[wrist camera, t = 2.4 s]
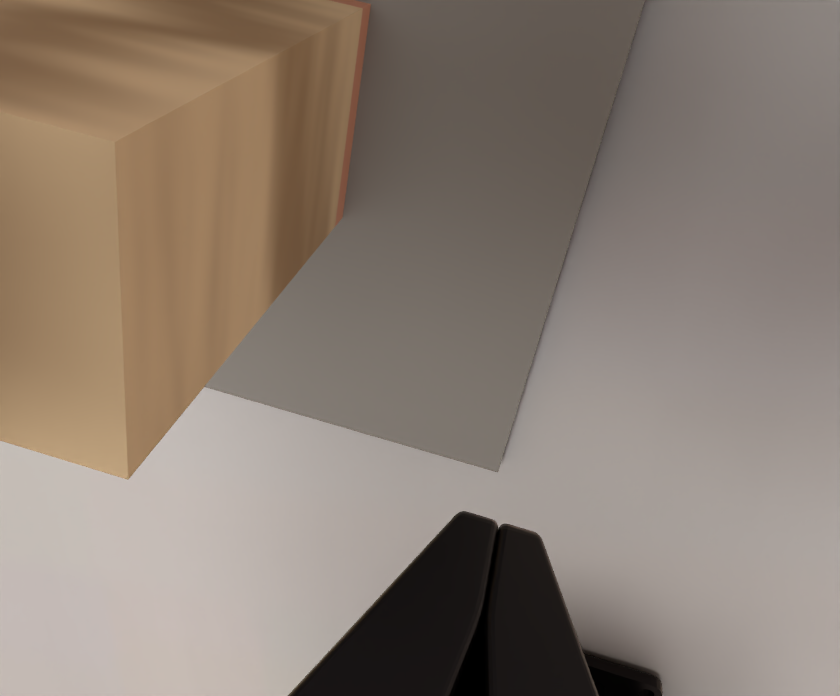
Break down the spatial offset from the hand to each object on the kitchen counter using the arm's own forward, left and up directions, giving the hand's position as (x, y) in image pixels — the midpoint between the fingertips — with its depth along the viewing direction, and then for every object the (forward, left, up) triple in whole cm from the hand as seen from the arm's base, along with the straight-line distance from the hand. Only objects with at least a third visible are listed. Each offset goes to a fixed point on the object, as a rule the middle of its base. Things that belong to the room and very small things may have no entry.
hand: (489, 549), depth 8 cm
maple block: (+8, 0, -12) cm, 14 cm away
